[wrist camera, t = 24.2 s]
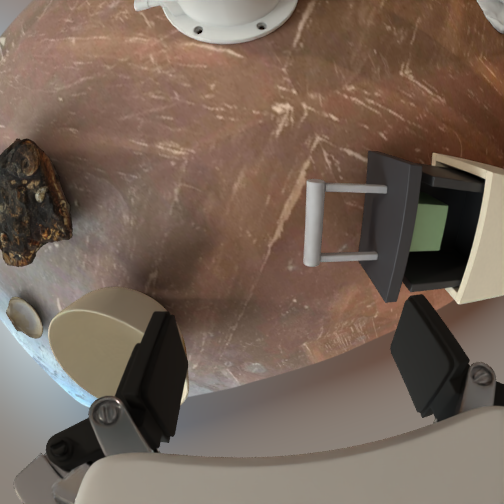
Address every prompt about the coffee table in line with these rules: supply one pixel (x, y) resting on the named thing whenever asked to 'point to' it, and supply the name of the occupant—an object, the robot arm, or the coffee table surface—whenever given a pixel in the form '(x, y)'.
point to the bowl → (102, 337)
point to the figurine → (494, 13)
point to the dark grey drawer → (402, 224)
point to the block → (429, 224)
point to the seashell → (24, 317)
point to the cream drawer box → (482, 234)
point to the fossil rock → (30, 203)
